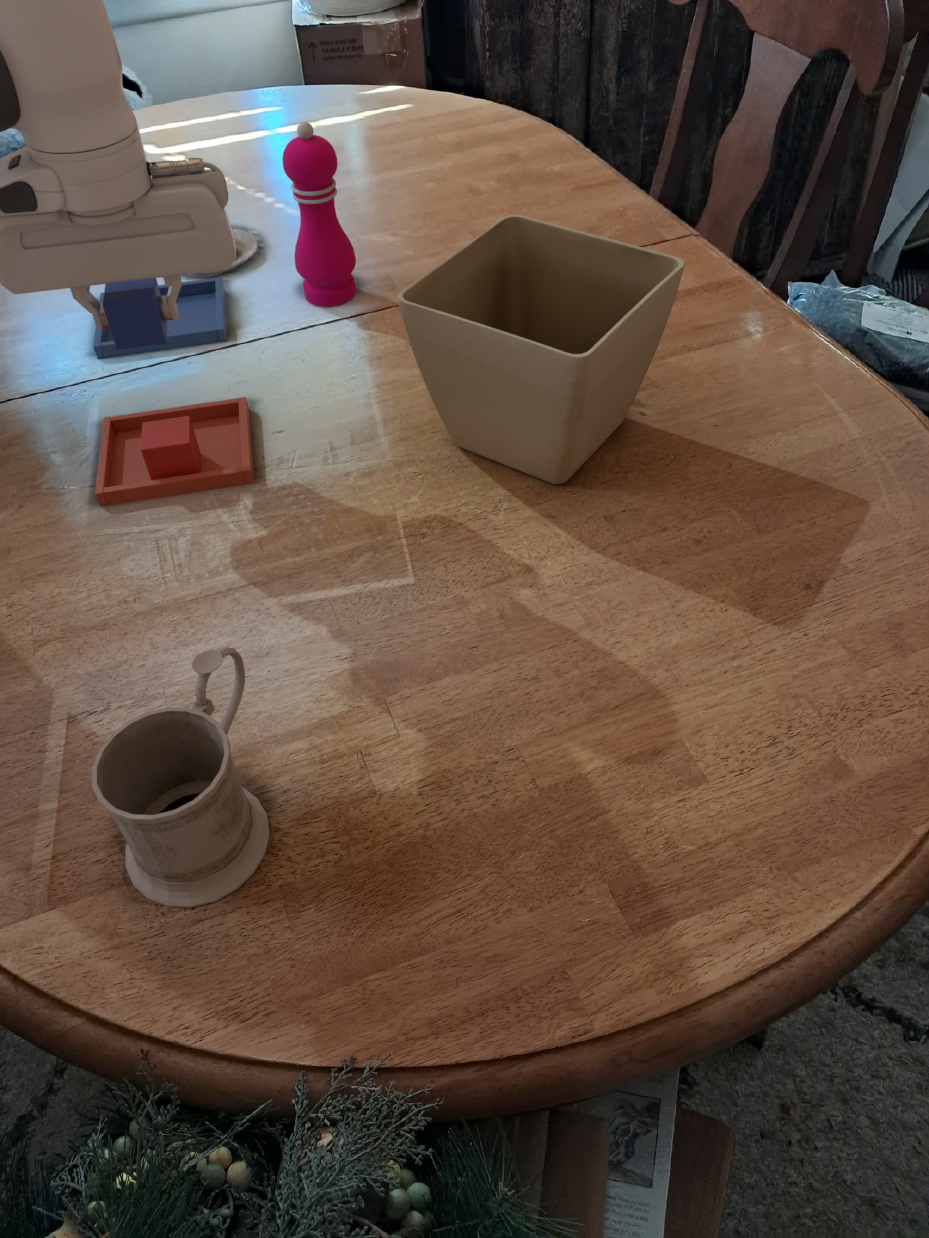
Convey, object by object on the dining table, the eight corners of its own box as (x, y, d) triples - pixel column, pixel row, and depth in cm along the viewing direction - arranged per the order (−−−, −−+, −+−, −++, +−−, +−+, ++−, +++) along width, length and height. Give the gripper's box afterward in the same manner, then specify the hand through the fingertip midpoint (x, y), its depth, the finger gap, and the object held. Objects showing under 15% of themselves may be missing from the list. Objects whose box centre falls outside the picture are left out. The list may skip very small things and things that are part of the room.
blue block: (116, 350, 90) (102, 305, 87) (119, 325, 94) (105, 281, 90) (166, 344, 91) (153, 299, 88) (167, 319, 94) (155, 275, 91)
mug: (222, 927, 64) (174, 828, 55) (97, 879, 67) (33, 778, 58) (323, 755, 73) (296, 647, 65) (210, 719, 76) (169, 611, 67)
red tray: (101, 510, 94) (94, 493, 93) (109, 433, 103) (102, 417, 101) (254, 486, 96) (250, 470, 94) (249, 412, 104) (245, 396, 103)
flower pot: (670, 414, 100) (690, 256, 88) (576, 520, 90) (584, 357, 78) (511, 363, 108) (509, 211, 96) (408, 454, 98) (391, 297, 86)
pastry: (150, 258, 129) (140, 224, 126) (228, 227, 135) (220, 193, 131) (197, 289, 123) (188, 254, 120) (277, 256, 128) (270, 221, 125)
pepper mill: (292, 290, 122) (260, 119, 107) (346, 274, 124) (322, 104, 109) (313, 315, 117) (283, 140, 103) (369, 299, 119) (347, 125, 105)
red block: (153, 487, 95) (140, 450, 92) (155, 460, 98) (142, 422, 95) (200, 480, 96) (189, 442, 92) (200, 453, 99) (189, 415, 96)
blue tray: (98, 362, 112) (92, 347, 111) (105, 308, 121) (100, 292, 120) (227, 344, 114) (223, 329, 112) (225, 291, 122) (221, 276, 121)
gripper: (219, 141, 84) (250, 291, 94) (-28, 167, 82) (30, 318, 92) (221, 170, 80) (252, 325, 90) (-41, 198, 78) (22, 353, 88)
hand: (138, 321), depth 91 cm, fingers closed on blue block, 4 cm apart
